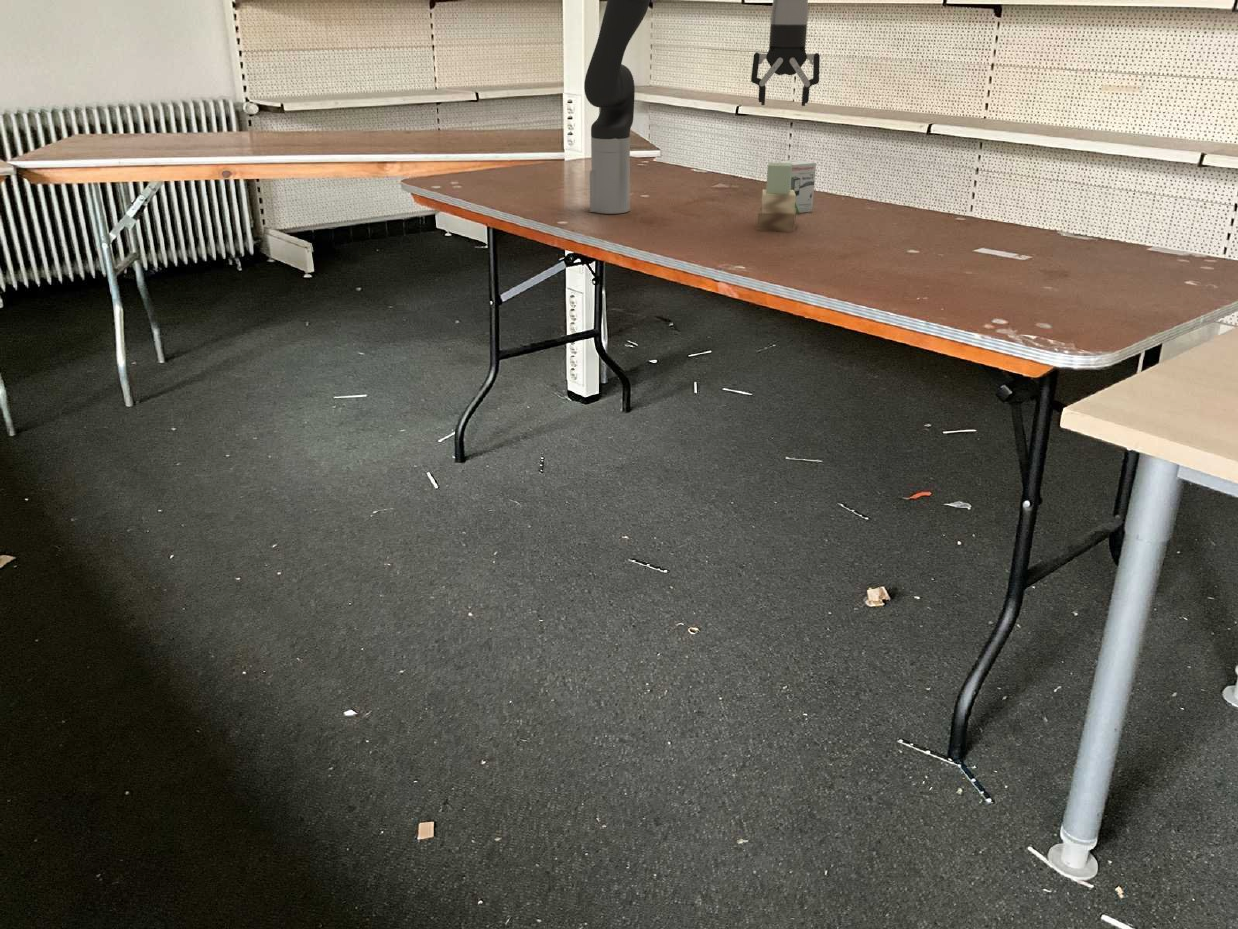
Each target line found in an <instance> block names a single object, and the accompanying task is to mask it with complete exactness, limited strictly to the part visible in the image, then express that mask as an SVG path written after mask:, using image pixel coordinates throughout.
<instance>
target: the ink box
mask: <svg viewBox="0 0 1238 929" xmlns="http://www.w3.org/2000/svg"><path fill="white" fill-rule="evenodd" d="M776 163H792V176H791V189H790V190H794V192H795V195H796V199H795V208H796V214H802V213H804V214H805V213H810V212H811V213H812V212H813V206H814V205H813V203H814V191H815V190H814V189H815V180H816V169H817V168H816V167H817V162H815V161H810V160H807V159H794V160H793V159H791V160H779V161H778V162H776Z"/></svg>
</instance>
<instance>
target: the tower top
mask: <svg viewBox="0 0 1238 929" xmlns="http://www.w3.org/2000/svg"><path fill="white" fill-rule="evenodd" d="M795 199H796V195H795V192H794V190H790V193H789V195H786V194H766V189H764V188H763V189H762V193H761V206H760V208H762V213H780V214H794V212H795Z"/></svg>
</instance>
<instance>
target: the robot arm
mask: <svg viewBox="0 0 1238 929" xmlns="http://www.w3.org/2000/svg"><path fill="white" fill-rule="evenodd" d="M650 3H651V0H606V4H605V5H606V6H605V9H604V14H603V16H602V21H601V24H600V30H599V34H598V36H597V40H596V41H597V42H596V44H595V47H594V49H593V53H592V56H591V59H590V62H589V65H588V68H587V70H586V74H585V78H584V87H583V88H584V94H585V98H586V99H587V101H588V103H589V104H590V105H592V106H593V107H595V108H599V115H598V116H597V118H596V120H595V121H594V122H593V123H592V124H591V127H590V141H591V142H590V143H591V144H590V147H591V148H590V150H591V151H590V153H591V159H590V160H591V169H590V171H589V213H598V214H606V215H608V214H624V213H627V212H630V205H631V204H630V203H631V200H630V199H631V198H630V192H631V188H630V186H631V185H630V182H631V181H630V178H631V175H630V174H631V173H630V172H631V170H630V169H631V167H630V166H631V165H630V164H631V160H630V159H631V157H630V156H631V155H630V154H631V152H630V151H631V147H630V146H631V145H630V144H631V129H632V126H633V122H634V113H635V111H634V110H635V96H636V95H635V94H636V93H635V89H636V88H635V81H634V76H633V73H632V72H631V69H629V68H628V66H626V65H624V64H622V63H623V59H624V55H625V52H626V50H627V47H628V45H629V43H630V41H631V39H632V38H633V36H634V34H635V33H636V31H637V30H638V28H639V27H640V25H641V24H642V22H643V20H644V18H645V16H646V14H647V12H648V9H649V7H650V6H649V5H650ZM808 15H809V0H772V5H771V12H770V30H769V45H768V52H767V53H760V52H758V51H757V52H755V53H754V54H753V58H752V59H753V60H752V68H751V69H752V70H751V78H750V81H751V83H752V84H755V85H757V86H758V102H759V103H760V104H761V106H766V105H765V102H766V90H767V87H766V84H767V83H768V81H769V80H770V79H771V78H772V77H773V75H774V74H775V75H777V76H783V75H787V76H794V75H795V74H797V76H798V77H799V79H800V80H801V82H802V83H803V86H802V94H801V104H800V105H801V107H805V106H806V104H808V103H809V99H810V88H811V87H812V86H815V85H818V84H819V82H820V65H821V64H820V61H821V59H820V58H821V55H820V53H818V52H815V53H809V54H808V53H807V51H806V44H807V31H808V21H809V16H808ZM764 60H766V62H767V63H768V64H769V66H770V68H769V69H768V70H767V71H766V73H765V74H764V75H763V77H762V78H759V77H758V74H759V65H762V64H763V63H764V62H763V61H764ZM807 60H808V61H809V64H810V65H812V66H813V68H812V69H813V71H812V74H813V75H812V78H811V79H810V78H808V77H807V75H806V73H805V72H804V70H803V68H802V66H803V65H804V64H805V62H806V61H807Z"/></svg>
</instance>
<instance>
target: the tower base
mask: <svg viewBox="0 0 1238 929" xmlns="http://www.w3.org/2000/svg"><path fill="white" fill-rule="evenodd" d="M796 218H797V213H796V208H795V212H794V214H780V213H762V208H761V207H760V208H759V210H758V212H757V225H756V231H761V230H762V231H763V232H785V233H787V232H788V233H793V232H794V230H795V226H796Z"/></svg>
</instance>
